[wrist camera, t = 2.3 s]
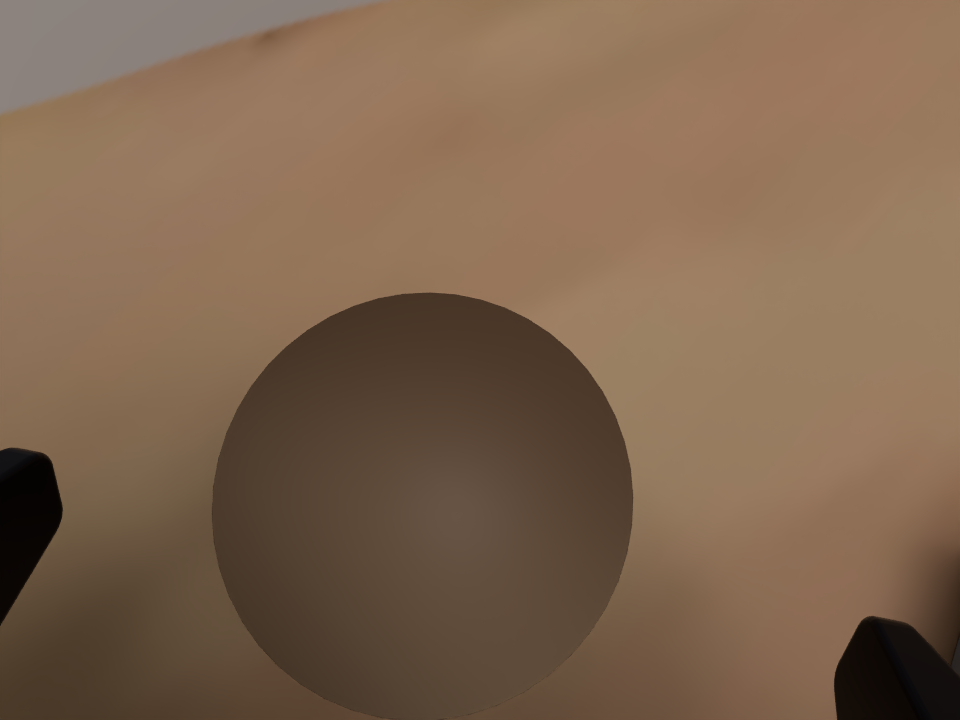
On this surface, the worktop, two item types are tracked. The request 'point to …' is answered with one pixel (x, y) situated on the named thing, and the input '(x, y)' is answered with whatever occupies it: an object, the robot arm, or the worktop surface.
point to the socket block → (957, 659)
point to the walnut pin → (422, 506)
